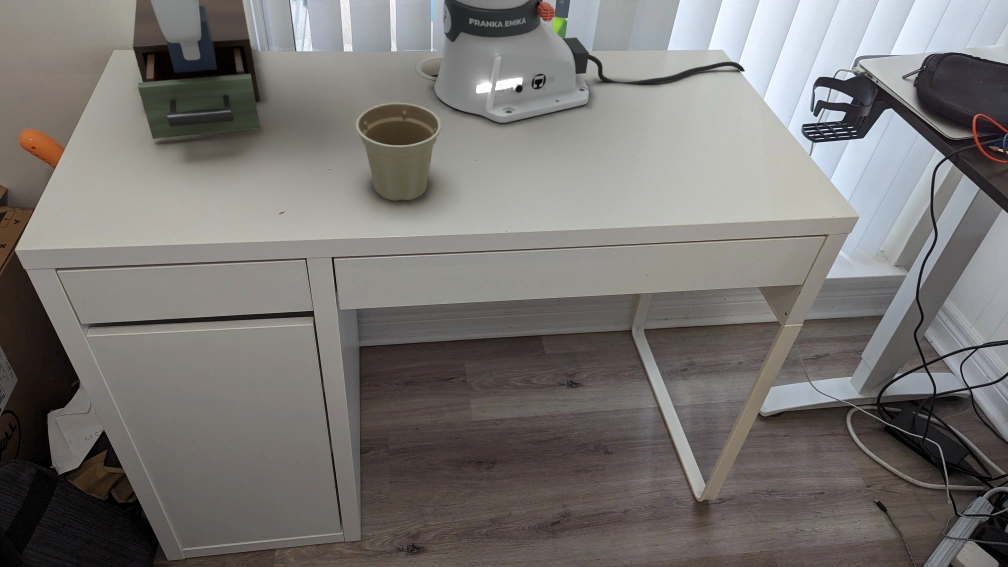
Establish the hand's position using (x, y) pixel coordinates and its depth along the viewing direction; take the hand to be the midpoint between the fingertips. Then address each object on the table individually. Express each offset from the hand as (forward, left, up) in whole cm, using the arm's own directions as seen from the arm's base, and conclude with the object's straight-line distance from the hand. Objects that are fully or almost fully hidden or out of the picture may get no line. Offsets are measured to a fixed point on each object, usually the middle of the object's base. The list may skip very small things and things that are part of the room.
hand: (192, 46), depth 88 cm
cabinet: (0, -11, -10) cm, 15 cm away
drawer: (0, 0, -9) cm, 9 cm away
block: (0, 0, -2) cm, 2 cm away
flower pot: (-21, +21, -10) cm, 31 cm away
